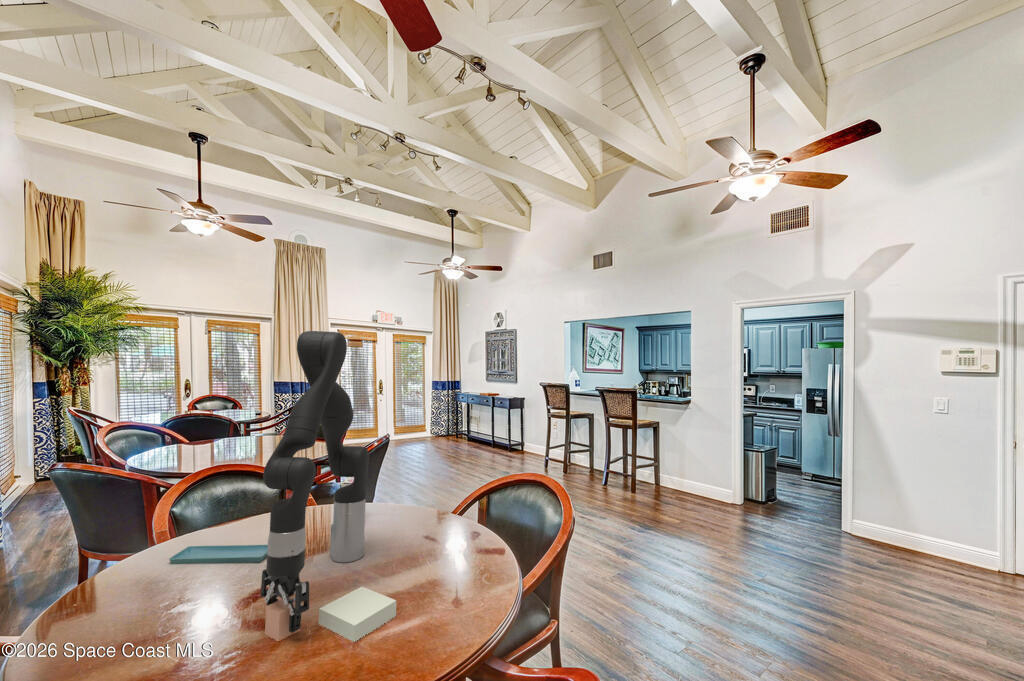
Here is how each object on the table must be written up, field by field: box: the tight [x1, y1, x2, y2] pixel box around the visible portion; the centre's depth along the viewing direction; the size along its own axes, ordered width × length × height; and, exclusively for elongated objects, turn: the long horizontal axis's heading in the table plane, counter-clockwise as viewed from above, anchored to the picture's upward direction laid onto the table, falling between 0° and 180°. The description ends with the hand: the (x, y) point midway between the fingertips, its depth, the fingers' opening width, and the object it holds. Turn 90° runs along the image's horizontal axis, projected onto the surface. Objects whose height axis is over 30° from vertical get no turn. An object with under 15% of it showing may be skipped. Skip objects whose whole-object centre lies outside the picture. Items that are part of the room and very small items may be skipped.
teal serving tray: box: [168, 544, 268, 565], centre depth 133 cm, size 26×9×2 cm, turn 94°
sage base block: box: [318, 586, 397, 643], centre depth 102 cm, size 12×12×4 cm
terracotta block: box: [264, 596, 301, 642], centre depth 97 cm, size 5×5×6 cm
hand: (282, 624), depth 97 cm, fingers open, 8 cm apart
